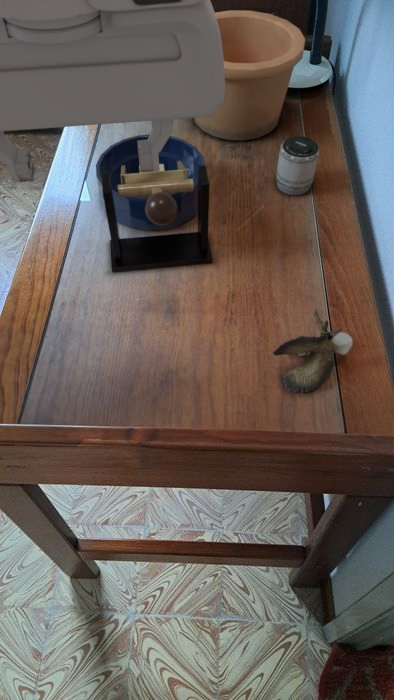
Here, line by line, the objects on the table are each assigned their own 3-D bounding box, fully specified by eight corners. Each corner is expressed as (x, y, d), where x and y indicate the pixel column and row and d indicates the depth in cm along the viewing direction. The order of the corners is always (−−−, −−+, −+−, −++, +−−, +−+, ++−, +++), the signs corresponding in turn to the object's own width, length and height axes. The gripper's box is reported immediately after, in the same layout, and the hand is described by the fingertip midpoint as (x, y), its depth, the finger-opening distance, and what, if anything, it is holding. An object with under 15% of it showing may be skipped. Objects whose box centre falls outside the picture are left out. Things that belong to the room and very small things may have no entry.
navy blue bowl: (103, 236, 79) (97, 205, 75) (100, 169, 89) (95, 138, 84) (211, 227, 81) (212, 196, 76) (197, 161, 91) (197, 130, 86)
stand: (112, 272, 75) (97, 198, 64) (110, 244, 78) (96, 169, 67) (212, 263, 76) (215, 188, 65) (206, 235, 80) (208, 160, 69)
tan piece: (118, 233, 55) (113, 199, 54) (120, 189, 78) (117, 164, 76) (208, 225, 56) (207, 191, 54) (185, 184, 78) (184, 159, 77)
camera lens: (284, 169, 89) (291, 128, 83) (317, 181, 87) (327, 139, 81) (268, 189, 86) (274, 147, 80) (302, 201, 84) (311, 160, 78)
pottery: (297, 150, 93) (312, 69, 81) (177, 148, 93) (174, 67, 81) (287, 88, 105) (299, 10, 93) (181, 86, 105) (180, 8, 93)
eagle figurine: (293, 319, 69) (257, 354, 63) (332, 300, 63) (296, 336, 58) (325, 364, 69) (292, 402, 64) (366, 349, 64) (334, 390, 58)
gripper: (-177, -15, 25) (-60, 211, 36) (237, -35, 26) (224, 187, 38) (-145, -61, 28) (-47, 158, 40) (218, -77, 30) (212, 138, 41)
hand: (87, 172), depth 39 cm, fingers open, 8 cm apart
